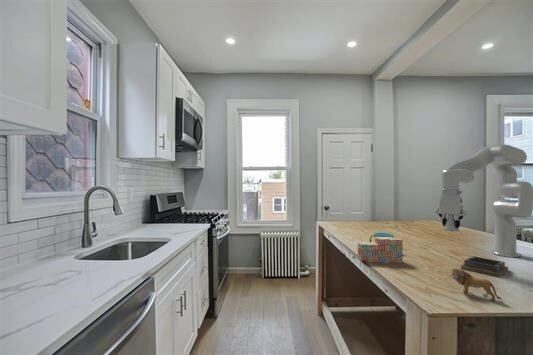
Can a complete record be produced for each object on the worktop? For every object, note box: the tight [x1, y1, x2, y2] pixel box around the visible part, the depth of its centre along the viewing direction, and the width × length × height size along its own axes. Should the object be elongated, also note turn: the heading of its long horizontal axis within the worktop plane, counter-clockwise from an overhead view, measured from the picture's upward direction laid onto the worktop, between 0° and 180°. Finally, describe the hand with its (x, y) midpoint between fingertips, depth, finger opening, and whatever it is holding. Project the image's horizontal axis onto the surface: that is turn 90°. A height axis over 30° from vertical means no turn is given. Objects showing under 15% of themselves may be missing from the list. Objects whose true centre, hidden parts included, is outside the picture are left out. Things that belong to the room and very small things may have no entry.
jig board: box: [460, 255, 509, 278], centre depth 132 cm, size 16×14×4 cm
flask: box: [443, 214, 460, 232], centre depth 146 cm, size 7×7×10 cm
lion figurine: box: [451, 267, 502, 302], centre depth 102 cm, size 15×5×9 cm, turn 52°
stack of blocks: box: [357, 236, 404, 264], centre depth 146 cm, size 21×6×12 cm, turn 86°
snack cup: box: [369, 232, 397, 242], centre depth 167 cm, size 16×11×10 cm
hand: (451, 226), depth 146 cm, fingers closed on flask, 5 cm apart
